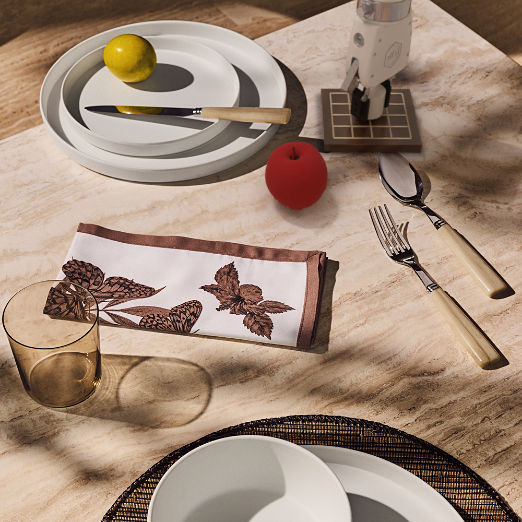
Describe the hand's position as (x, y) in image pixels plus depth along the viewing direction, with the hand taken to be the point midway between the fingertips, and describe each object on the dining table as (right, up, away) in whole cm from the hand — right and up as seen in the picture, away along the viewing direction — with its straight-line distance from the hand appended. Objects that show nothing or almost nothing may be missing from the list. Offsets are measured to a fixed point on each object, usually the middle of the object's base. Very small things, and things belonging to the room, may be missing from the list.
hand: (369, 109), depth 109 cm
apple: (-12, -15, -10) cm, 22 cm away
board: (0, -2, +2) cm, 3 cm away
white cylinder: (0, 0, 0) cm, 0 cm away
